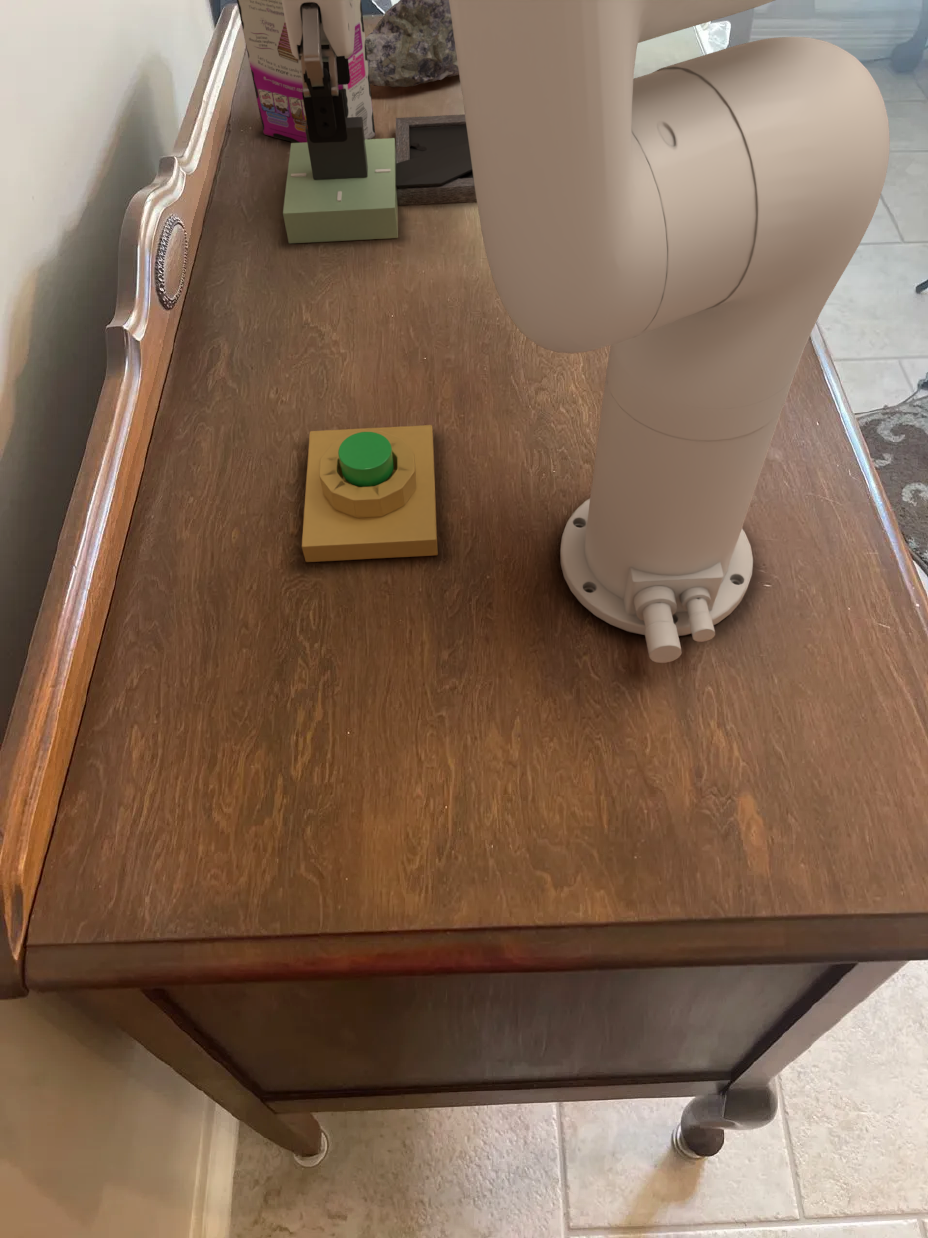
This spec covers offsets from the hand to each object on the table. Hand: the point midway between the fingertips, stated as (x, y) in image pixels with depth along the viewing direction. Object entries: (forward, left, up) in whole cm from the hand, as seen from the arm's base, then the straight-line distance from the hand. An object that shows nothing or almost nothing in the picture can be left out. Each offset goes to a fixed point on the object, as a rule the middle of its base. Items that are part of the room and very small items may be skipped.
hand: (331, 110), depth 81 cm
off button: (-38, -3, -5) cm, 39 cm away
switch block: (-38, -3, -9) cm, 39 cm away
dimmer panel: (0, 0, -9) cm, 9 cm away
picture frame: (+6, -14, -9) cm, 18 cm away
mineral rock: (+25, -8, -9) cm, 28 cm away
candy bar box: (+13, +3, -9) cm, 16 cm away
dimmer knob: (0, 0, -5) cm, 5 cm away
